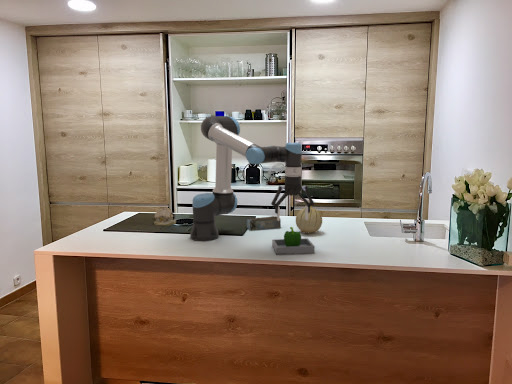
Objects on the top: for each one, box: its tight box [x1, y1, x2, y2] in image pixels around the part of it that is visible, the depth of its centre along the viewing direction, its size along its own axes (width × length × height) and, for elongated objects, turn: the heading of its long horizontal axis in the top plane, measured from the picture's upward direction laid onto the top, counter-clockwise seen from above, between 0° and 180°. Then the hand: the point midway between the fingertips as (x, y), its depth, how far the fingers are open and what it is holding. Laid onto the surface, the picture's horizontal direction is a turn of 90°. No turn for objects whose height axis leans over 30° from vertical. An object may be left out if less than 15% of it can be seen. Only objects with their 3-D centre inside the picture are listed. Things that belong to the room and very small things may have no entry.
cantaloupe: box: [295, 205, 323, 234], centre depth 229 cm, size 15×15×15 cm
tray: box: [271, 238, 315, 256], centre depth 198 cm, size 18×14×4 cm
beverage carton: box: [246, 215, 282, 232], centre depth 241 cm, size 8×19×7 cm, turn 107°
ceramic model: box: [153, 207, 177, 226], centre depth 255 cm, size 14×11×10 cm
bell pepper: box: [283, 226, 302, 247], centre depth 198 cm, size 8×8×10 cm
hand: (292, 219), depth 196 cm, fingers open, 13 cm apart
